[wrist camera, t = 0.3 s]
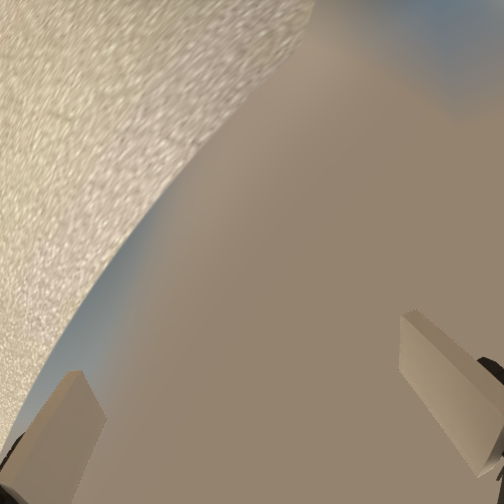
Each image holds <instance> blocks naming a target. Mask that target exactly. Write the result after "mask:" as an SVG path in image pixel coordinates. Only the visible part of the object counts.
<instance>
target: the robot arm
mask: <svg viewBox="0 0 504 504" xmlns="http://www.w3.org/2000/svg"><path fill="white" fill-rule="evenodd" d="M400 333H401V334H400V358H399V371H400V372H401V373H402V374H403V376H404V377H405V378H406V380H407V381H408V382H409V384H410V385H411V386H412V388H413V389H414V390H415V392H416V393H417V394H418V395H419V397H420V398H421V400H422V401H423V402H424V404H425V405H426V406H427V408H428V409H429V410H430V412H431V413H432V414H433V416H434V417H435V418H436V420H437V421H438V423H439V424H440V425H441V427H442V428H443V430H444V431H445V432H446V434H447V435H448V436H449V438H450V439H451V441H452V442H453V443H454V445H455V446H456V448H457V449H458V450H459V452H460V453H461V455H462V456H463V457H464V459H465V461H466V462H467V463H468V465H469V466H470V468H471V469H472V471H473V472H474V474H475V475H476V477H477V478H478V477H479V476H481V475H483V474H485V473H486V472H488V471H490V470H491V469H493V468H494V467H496V465H497V463H498V462H499V460H500V458H501V456H503V457H504V369H503V368H502V367H501V366H500V365H499V364H498V363H497V362H495V361H493V360H490V359H488V358H485V357H482V358H480V359H478V360H475V359H474V358H473V357H472V356H471V355H470V354H469V353H468V352H466V351H465V350H464V349H463V348H462V347H461V346H460V345H458V344H457V343H456V342H455V341H454V340H453V339H451V338H450V337H449V336H448V335H447V334H446V333H444V332H443V331H442V330H441V329H440V328H438V327H437V326H436V325H435V324H434V323H433V322H432V321H430V320H429V319H428V318H427V317H426V316H424V315H423V314H422V313H421V312H419V311H418V310H417V309H416V310H413V311H410V312H407V313H404V314H401V332H400ZM106 420H107V417H106V415H105V413H104V412H103V410H102V408H101V407H100V405H99V403H98V401H97V399H96V397H95V395H94V393H93V391H92V389H91V388H90V386H89V384H88V381H87V380H86V378H85V375H84V374H83V371H82V370H78V371H68V372H67V374H66V375H65V376H64V378H63V379H62V380H61V382H60V383H59V385H58V386H57V387H56V389H55V390H54V392H53V393H52V395H51V396H50V397H49V399H48V400H47V401H46V403H45V404H44V406H43V407H42V409H41V410H40V412H39V413H38V414H37V416H36V417H35V419H34V420H33V422H32V423H31V425H30V426H29V428H28V429H27V431H26V432H25V433H23V434H22V435H21V436H20V437H19V438H18V439H17V440H16V441H15V443H14V444H13V446H12V448H11V450H10V451H9V452H8V454H7V457H5V458H4V460H3V462H2V463H1V465H0V504H71V503H72V500H73V498H74V495H75V493H76V490H77V487H78V485H79V483H80V480H81V478H82V475H83V473H84V471H85V468H86V466H87V463H88V460H89V459H90V456H91V454H92V452H93V449H94V447H95V445H96V442H97V440H98V438H99V436H100V433H101V431H102V429H103V427H104V424H105V422H106ZM502 475H503V477H502ZM501 477H502V483H501V488H500V493H499V498H498V503H497V504H504V466H503V468H502V470H501V472H500V473H499V475H498V477H497V479H496V480H497V481H499V480H500V478H501Z"/></svg>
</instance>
